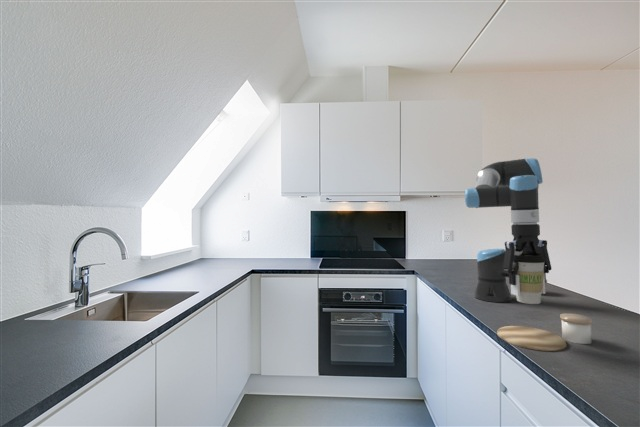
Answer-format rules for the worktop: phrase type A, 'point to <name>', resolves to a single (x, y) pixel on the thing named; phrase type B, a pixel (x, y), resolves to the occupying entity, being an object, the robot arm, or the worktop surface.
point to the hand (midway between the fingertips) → (528, 293)
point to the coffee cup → (530, 277)
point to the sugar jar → (576, 328)
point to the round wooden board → (531, 338)
